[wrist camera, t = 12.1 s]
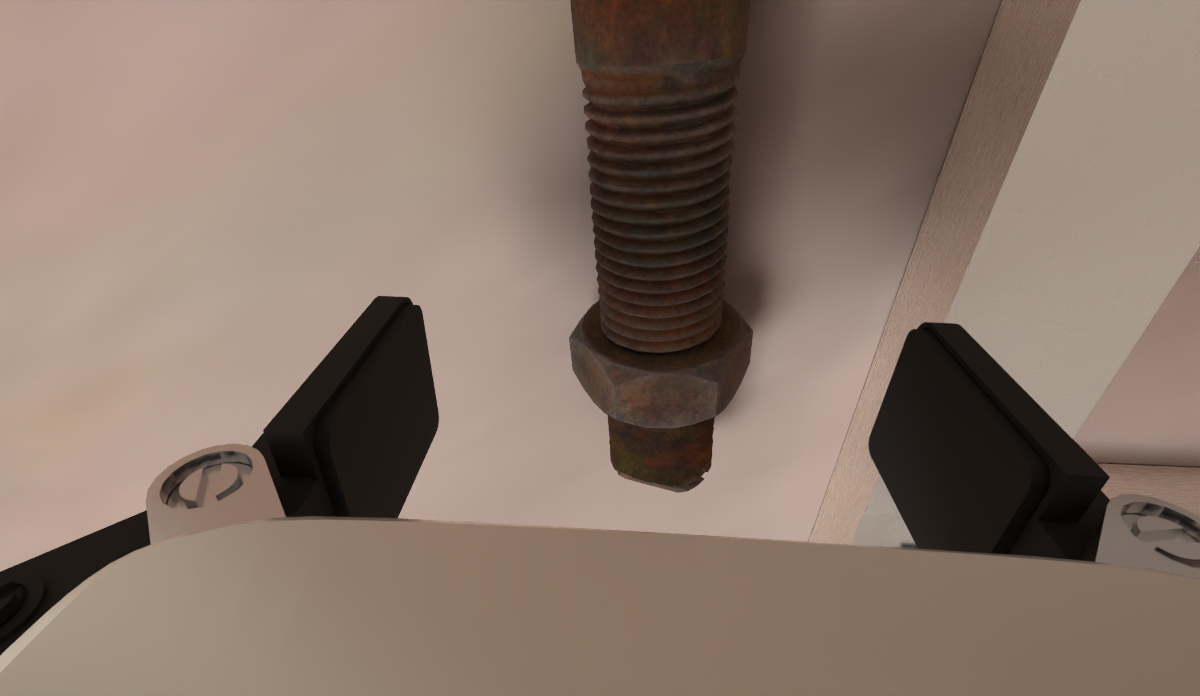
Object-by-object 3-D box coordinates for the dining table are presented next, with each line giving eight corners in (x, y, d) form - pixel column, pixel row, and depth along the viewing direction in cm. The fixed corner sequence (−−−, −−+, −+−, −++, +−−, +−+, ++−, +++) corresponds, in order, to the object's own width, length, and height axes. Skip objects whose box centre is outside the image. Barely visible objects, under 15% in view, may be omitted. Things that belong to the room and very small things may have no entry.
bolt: (634, 389, 21) (615, -126, 13) (766, 433, 19) (853, -161, 10) (544, 497, 17) (427, -143, 9) (697, 568, 15) (742, -208, 6)
